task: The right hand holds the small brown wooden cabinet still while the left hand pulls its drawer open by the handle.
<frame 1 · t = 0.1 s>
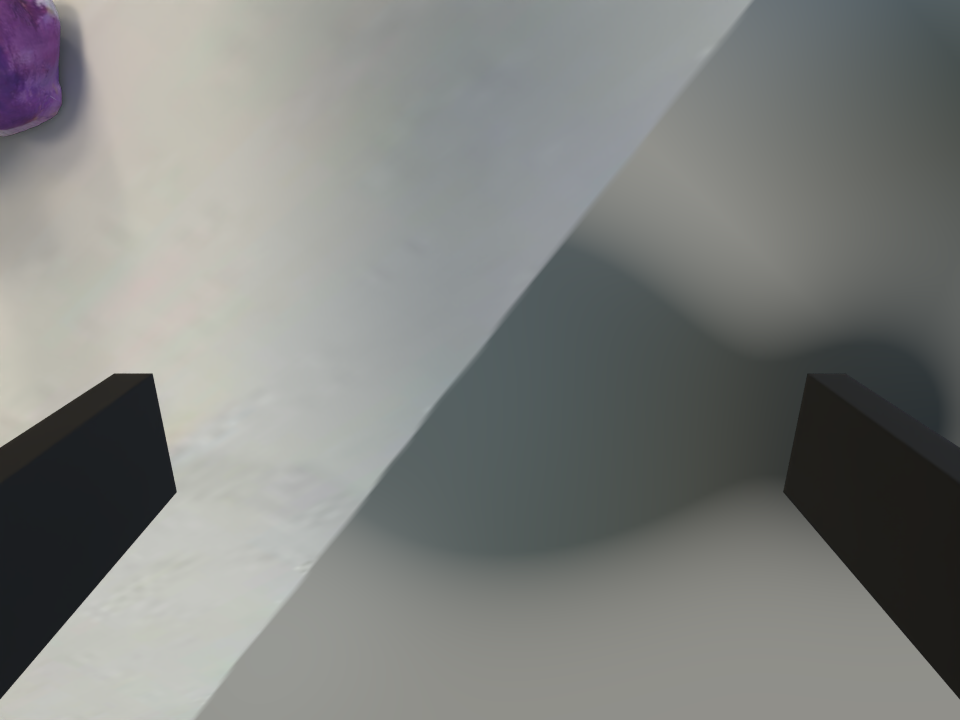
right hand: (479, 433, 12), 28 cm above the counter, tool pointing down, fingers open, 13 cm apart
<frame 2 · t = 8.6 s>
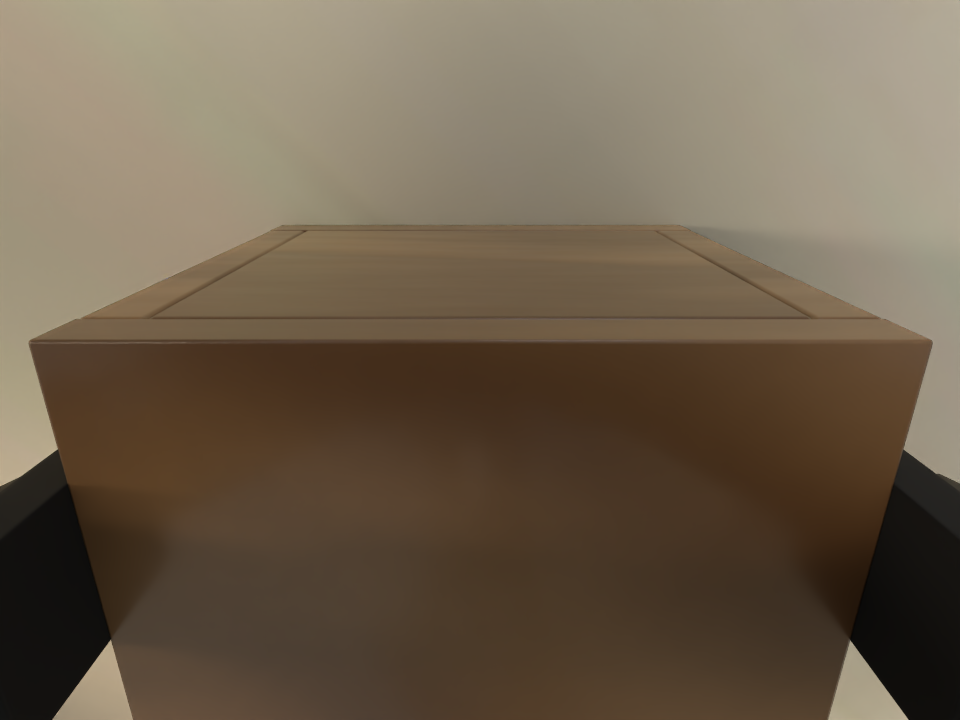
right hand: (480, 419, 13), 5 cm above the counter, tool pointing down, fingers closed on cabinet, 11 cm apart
cabinet: (480, 512, 20), on the counter, touching right hand
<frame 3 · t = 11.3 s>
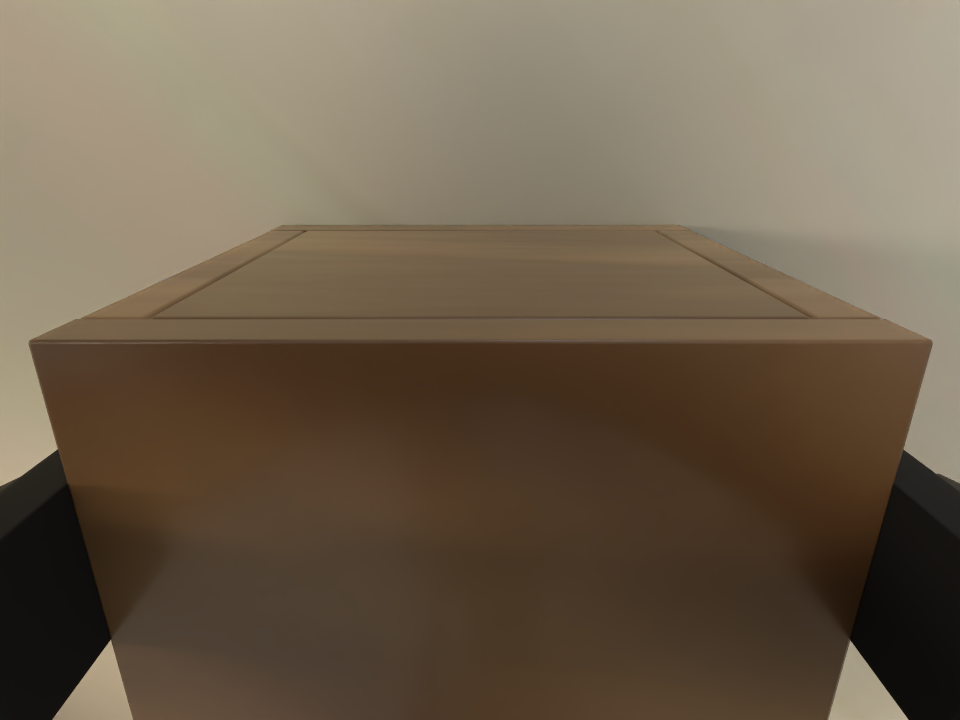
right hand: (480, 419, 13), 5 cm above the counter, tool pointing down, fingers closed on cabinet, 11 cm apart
cabinet: (480, 512, 20), on the counter, touching right hand
when the right hand's fingers open (5 cm above the counter, at t = 14.2 s): cabinet stays where it is, on the counter.
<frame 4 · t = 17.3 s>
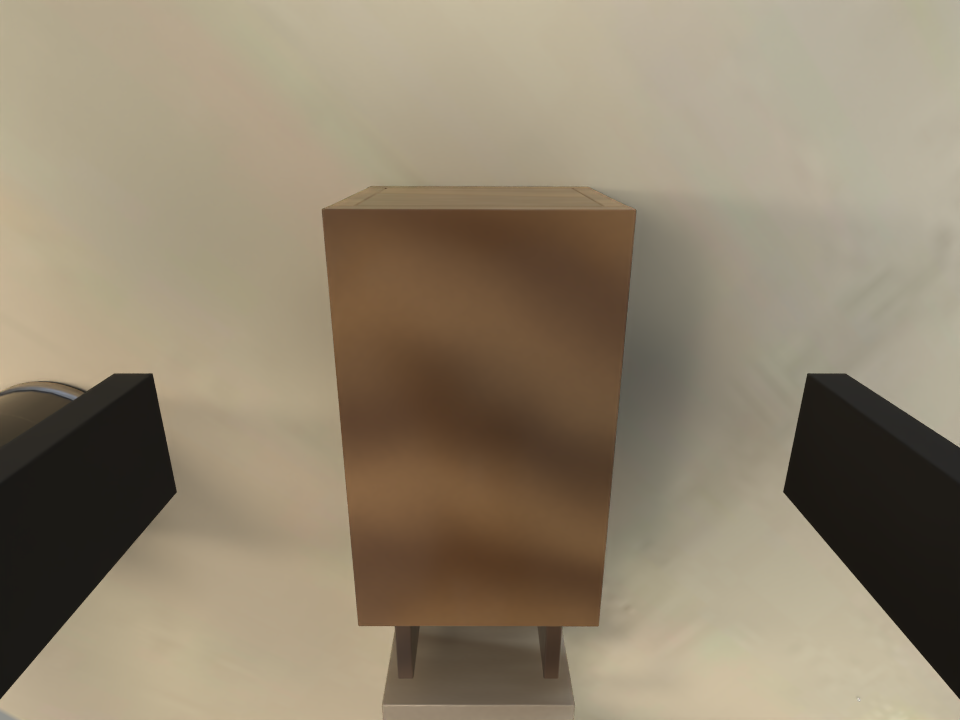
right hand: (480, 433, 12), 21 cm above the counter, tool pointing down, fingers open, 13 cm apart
cabinet: (479, 359, 34), on the counter
drawer: (478, 578, 33), point 5 cm above the counter, slide at 6.1 cm
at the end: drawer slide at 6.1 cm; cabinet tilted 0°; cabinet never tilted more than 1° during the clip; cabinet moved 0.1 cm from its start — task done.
